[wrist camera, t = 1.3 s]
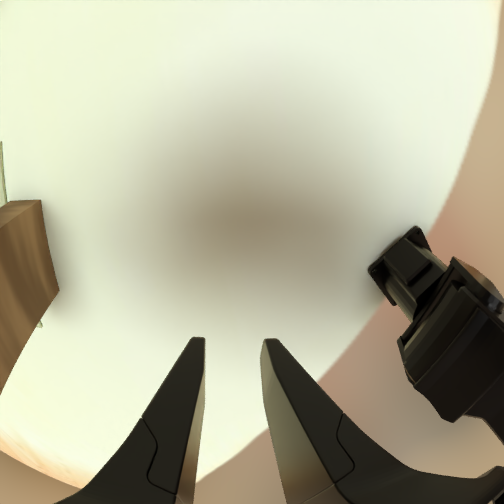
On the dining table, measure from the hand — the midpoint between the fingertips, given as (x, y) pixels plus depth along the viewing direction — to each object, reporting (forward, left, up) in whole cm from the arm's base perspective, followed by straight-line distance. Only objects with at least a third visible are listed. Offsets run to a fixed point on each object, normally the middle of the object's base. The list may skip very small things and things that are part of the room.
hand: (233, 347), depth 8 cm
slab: (+11, +14, -13) cm, 22 cm away
